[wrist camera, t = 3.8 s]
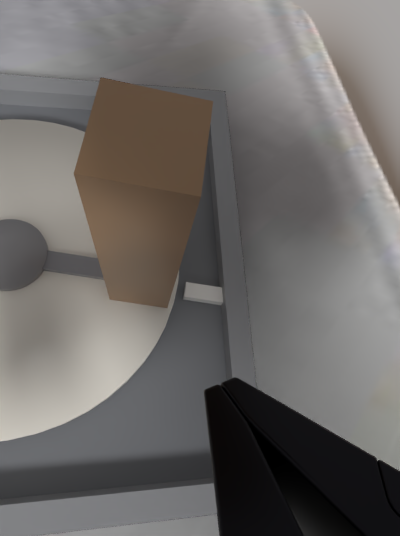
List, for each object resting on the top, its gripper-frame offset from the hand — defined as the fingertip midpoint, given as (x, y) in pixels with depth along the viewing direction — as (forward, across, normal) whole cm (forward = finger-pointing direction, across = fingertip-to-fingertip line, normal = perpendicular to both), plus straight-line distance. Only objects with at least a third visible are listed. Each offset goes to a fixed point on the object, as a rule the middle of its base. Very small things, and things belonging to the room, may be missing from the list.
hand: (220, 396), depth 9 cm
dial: (+11, +5, 0) cm, 12 cm away
